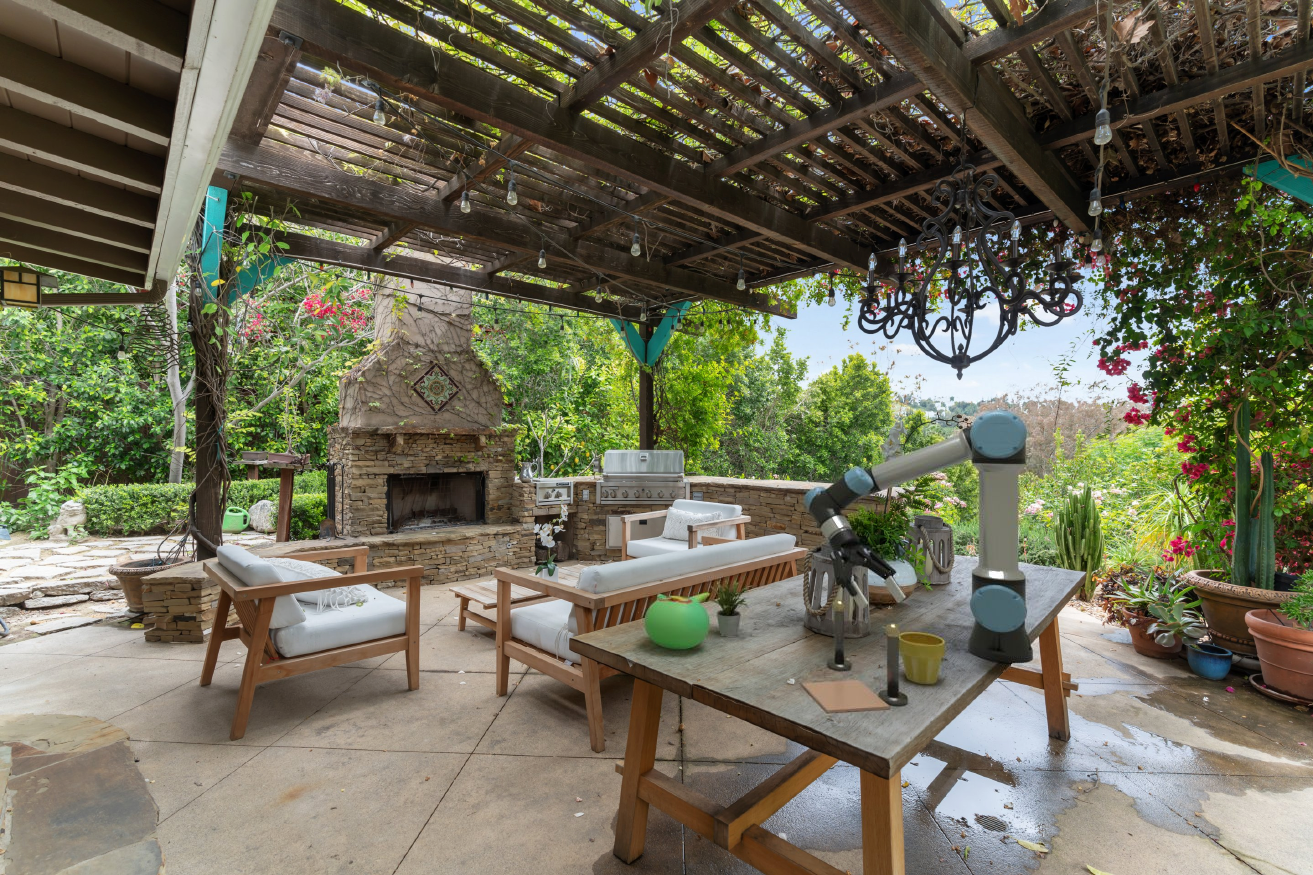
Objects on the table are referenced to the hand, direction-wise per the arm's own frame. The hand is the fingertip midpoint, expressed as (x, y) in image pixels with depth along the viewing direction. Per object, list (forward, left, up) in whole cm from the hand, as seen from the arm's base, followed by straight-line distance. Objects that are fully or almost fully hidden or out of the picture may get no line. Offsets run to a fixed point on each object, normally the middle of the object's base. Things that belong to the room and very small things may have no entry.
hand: (883, 603), depth 151 cm
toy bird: (+50, -20, -16) cm, 56 cm away
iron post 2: (+9, +20, -15) cm, 27 cm away
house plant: (+33, -27, -16) cm, 45 cm away
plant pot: (-4, +10, -16) cm, 19 cm away
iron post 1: (+12, 0, -15) cm, 20 cm away
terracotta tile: (+19, +17, -15) cm, 30 cm away
